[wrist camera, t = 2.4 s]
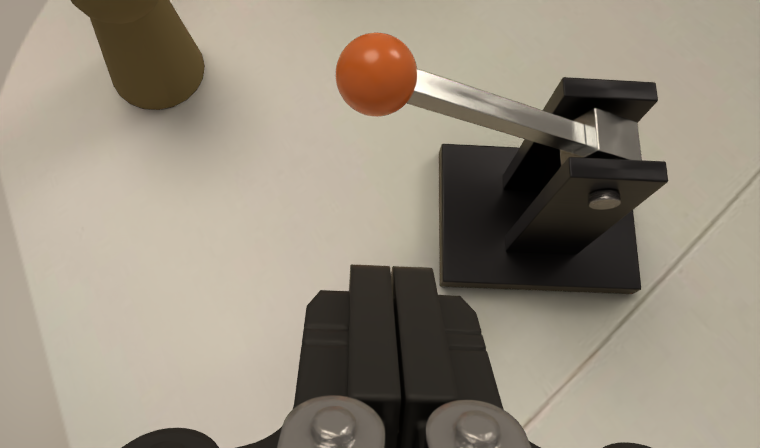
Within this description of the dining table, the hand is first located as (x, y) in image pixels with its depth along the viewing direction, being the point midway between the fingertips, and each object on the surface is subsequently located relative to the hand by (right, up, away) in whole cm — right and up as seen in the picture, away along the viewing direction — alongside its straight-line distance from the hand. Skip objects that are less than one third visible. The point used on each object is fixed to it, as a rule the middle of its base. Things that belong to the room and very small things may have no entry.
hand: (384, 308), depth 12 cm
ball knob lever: (+4, +6, +17) cm, 19 cm away
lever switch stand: (+10, +2, +29) cm, 31 cm away
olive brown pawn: (-15, +12, +31) cm, 36 cm away
